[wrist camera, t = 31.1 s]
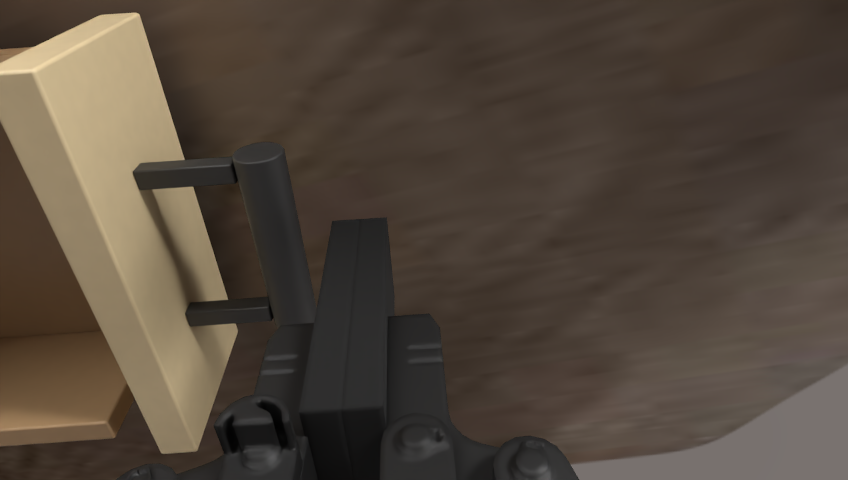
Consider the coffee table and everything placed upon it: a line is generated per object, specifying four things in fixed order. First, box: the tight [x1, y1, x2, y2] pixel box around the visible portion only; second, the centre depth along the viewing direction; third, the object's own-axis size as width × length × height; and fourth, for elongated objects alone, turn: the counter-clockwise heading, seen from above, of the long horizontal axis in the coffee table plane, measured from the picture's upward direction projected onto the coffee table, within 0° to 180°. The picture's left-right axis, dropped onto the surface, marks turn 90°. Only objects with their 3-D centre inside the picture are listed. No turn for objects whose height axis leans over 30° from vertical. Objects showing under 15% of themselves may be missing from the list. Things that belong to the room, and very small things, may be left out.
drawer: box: [0, 13, 317, 454], centre depth 17 cm, size 18×12×6 cm
